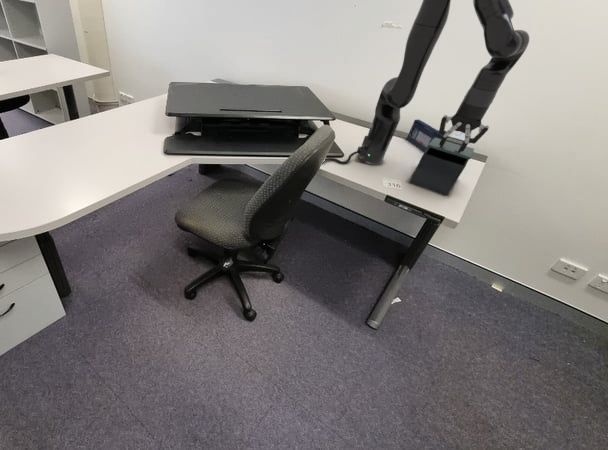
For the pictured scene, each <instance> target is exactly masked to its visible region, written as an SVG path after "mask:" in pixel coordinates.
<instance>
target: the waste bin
mask: <svg viewBox="0 0 608 450" xmlns="http://www.w3.org/2000/svg"><path fill="white" fill-rule="evenodd" d="M469 161H470V159H466V158H463V157H460V156H456V155H453V154H450V153H446V152H443V151H440V150H437V149H433V148H430V147H428V148H427V150H426V151H425V152H423V154H422V156H421V157H420V160H419V161H418V164H417V166H416V167H415V169H414V171H413V173H412V175H411V177H410V179H409V181H408V183H409V184H412V185H415V186H417V187H420V188H423V189H425V190H427V191H431V192H434V193H436V194H440V195H442V196H445V197H447V196H448V195H449V193H450V192H451V190H452V189H453V187H454V185H455V184H456V183H457V181H458V179H459V177H460V176H461V175H462V173H463V171H464V170H465V168H466V166H467V164H468V162H469Z"/></svg>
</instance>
